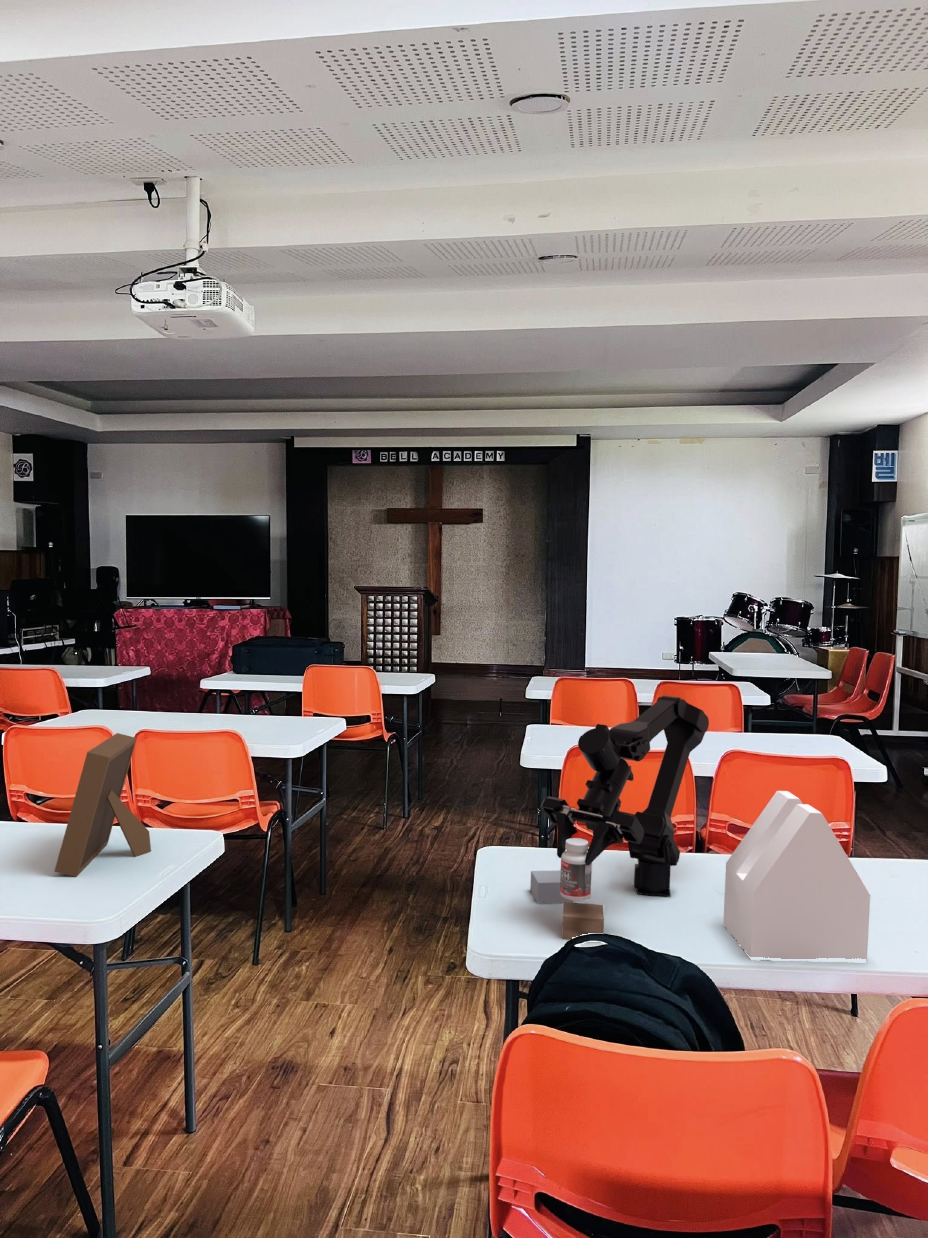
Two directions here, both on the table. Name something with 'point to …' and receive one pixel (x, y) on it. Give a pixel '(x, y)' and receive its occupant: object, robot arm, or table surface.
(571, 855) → the pill bottle
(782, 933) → the pinkish house shaped block
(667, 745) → the robot arm
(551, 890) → the grey block
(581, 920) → the walnut block
